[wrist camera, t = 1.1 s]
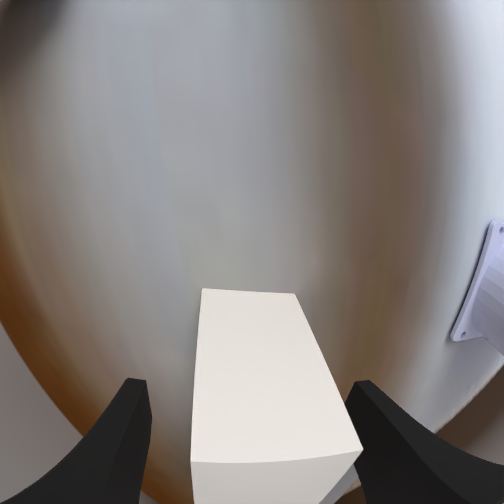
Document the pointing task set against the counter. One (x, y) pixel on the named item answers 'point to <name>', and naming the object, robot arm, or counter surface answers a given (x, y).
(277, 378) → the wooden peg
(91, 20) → the counter surface
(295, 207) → the counter surface
